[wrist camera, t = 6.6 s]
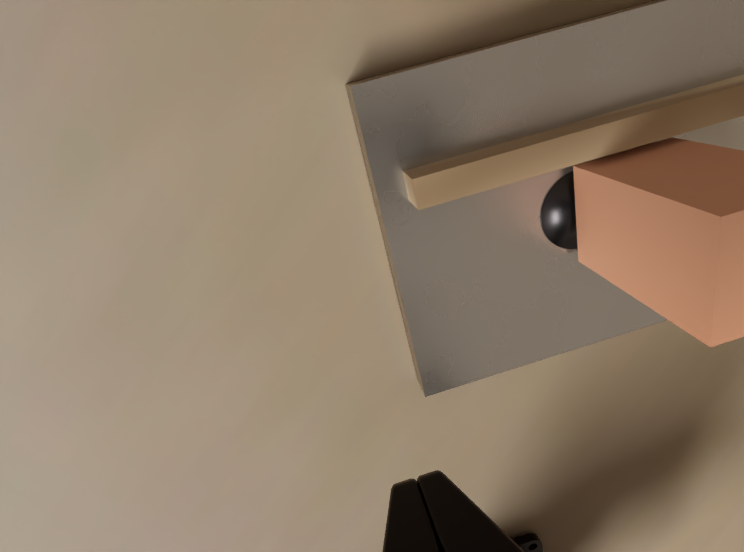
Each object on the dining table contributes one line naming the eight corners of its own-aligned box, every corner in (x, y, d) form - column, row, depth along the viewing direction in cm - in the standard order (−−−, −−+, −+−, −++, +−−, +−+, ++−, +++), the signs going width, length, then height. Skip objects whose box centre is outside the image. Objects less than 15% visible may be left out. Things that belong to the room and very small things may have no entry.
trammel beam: (867, 167, 19) (1103, 208, 14) (430, 300, 18) (497, 404, 12) (896, 30, 17) (1188, 15, 11) (402, 171, 16) (469, 227, 10)
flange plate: (838, 246, 22) (869, 256, 21) (417, 379, 21) (425, 397, 19) (901, -66, 17) (946, -76, 16) (345, 84, 15) (350, 86, 14)
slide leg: (668, 233, 18) (836, 306, 13) (578, 261, 18) (710, 347, 12) (671, 137, 17) (864, 173, 11) (573, 166, 16) (721, 217, 11)
